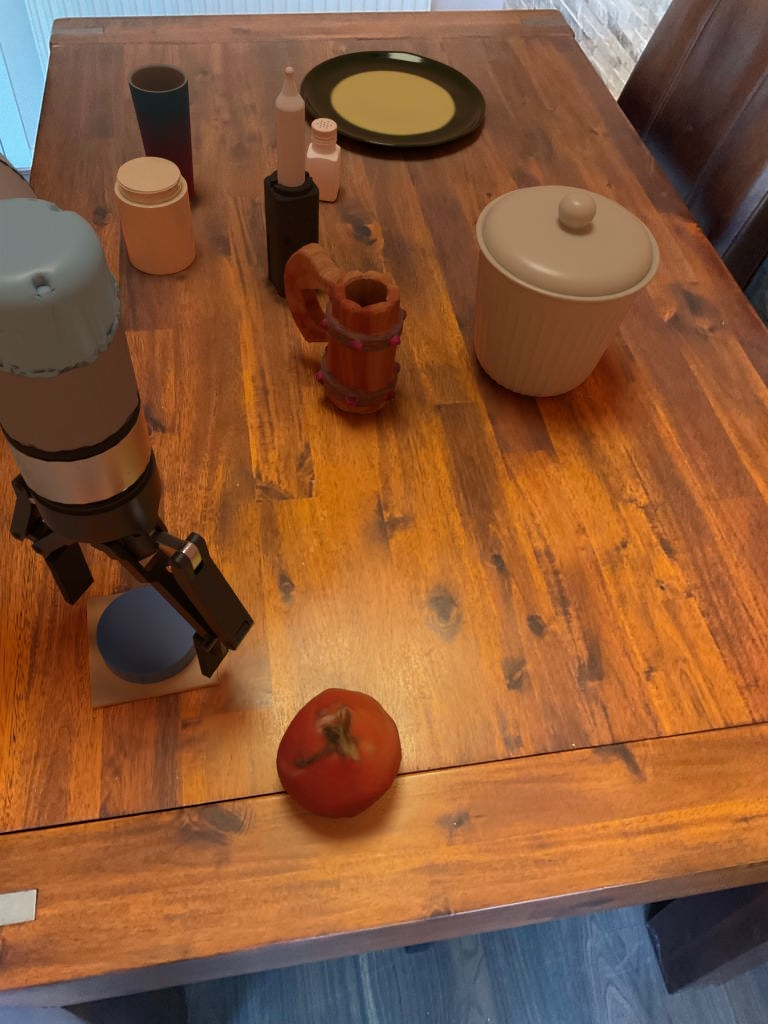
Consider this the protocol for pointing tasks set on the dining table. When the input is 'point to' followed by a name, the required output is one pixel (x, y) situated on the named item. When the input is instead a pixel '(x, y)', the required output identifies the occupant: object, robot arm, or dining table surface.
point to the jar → (155, 215)
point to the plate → (393, 98)
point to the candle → (289, 187)
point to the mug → (348, 327)
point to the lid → (144, 637)
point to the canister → (555, 284)
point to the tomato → (339, 754)
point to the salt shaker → (324, 158)
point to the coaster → (118, 691)
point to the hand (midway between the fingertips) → (146, 626)
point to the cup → (164, 115)
